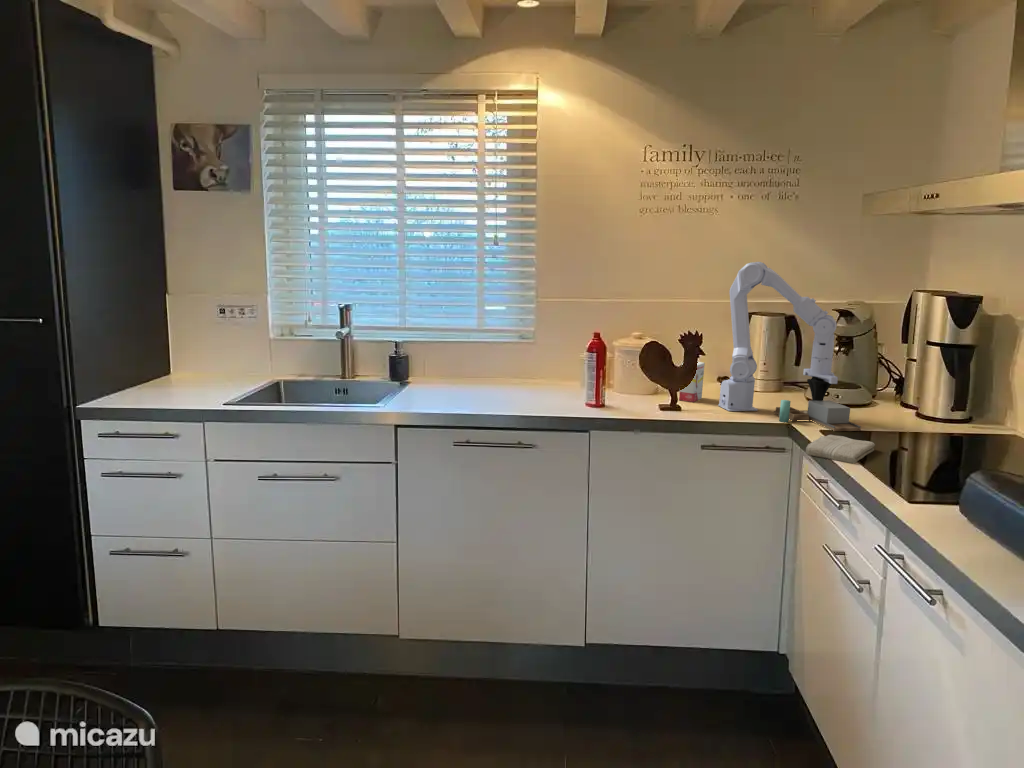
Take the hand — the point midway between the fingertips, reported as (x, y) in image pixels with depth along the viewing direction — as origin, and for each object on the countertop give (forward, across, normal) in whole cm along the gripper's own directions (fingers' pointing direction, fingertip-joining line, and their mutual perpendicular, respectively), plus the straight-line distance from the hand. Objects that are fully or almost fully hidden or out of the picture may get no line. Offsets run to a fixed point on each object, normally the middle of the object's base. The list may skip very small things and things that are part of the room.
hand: (817, 403), depth 237 cm
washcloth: (+5, -36, +15) cm, 39 cm away
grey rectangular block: (+4, -6, 0) cm, 7 cm away
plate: (+4, -5, 0) cm, 6 cm away
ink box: (+4, +28, +27) cm, 39 cm away
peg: (+4, -4, +12) cm, 13 cm away
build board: (+4, +1, +7) cm, 8 cm away
